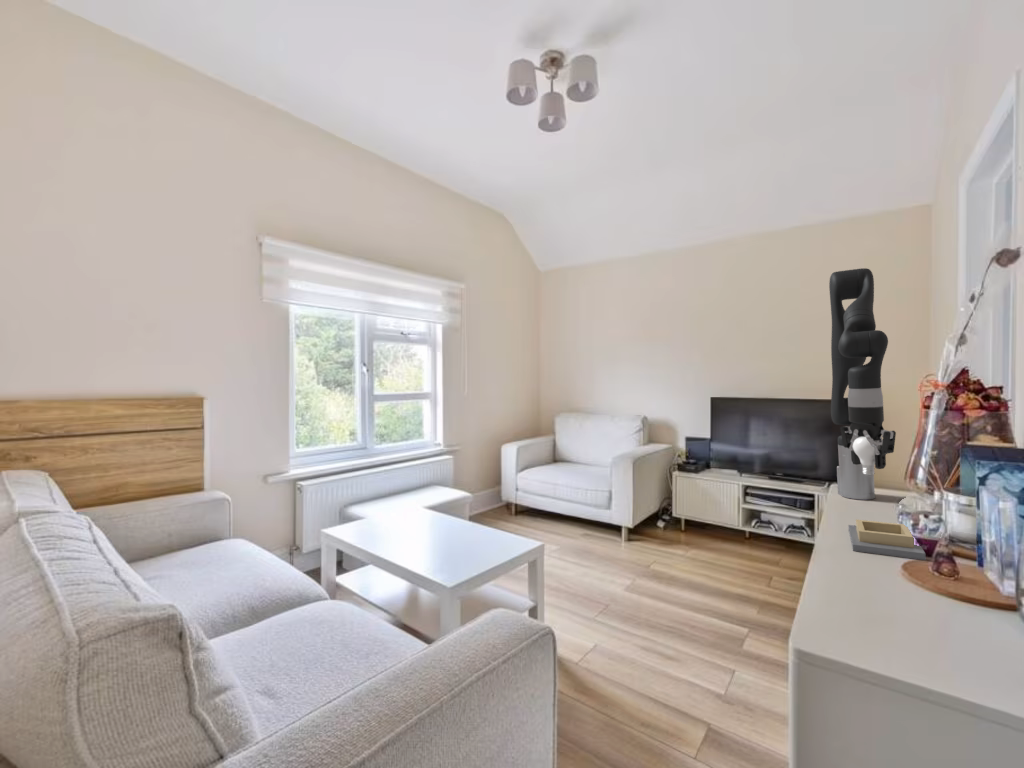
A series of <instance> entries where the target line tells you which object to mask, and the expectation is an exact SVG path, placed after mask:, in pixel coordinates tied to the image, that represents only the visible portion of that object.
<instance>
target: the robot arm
mask: <svg viewBox="0 0 1024 768" xmlns="http://www.w3.org/2000/svg"><path fill="white" fill-rule="evenodd" d="M874 280H875V279H874V274H873V272H872V270H871V269H870V268H866V267H865V268H857V269H856V268H855V269H854V268H853V269H849V270H848V269H847V270H839V271H834V272H832V273H831V274H830V277H829V281H828V282H829V300H830V314H831V337H830V338H831V340H830V343H831V345H830V346H831V347H830V348H831V350H830V351H831V352H830V353H831V355H830V356H831V370H832V371H831V372H832V374H831V375H832V380H831V381H832V383H831V384H832V385H831V386H832V387H831V398H830V399H831V401H830V415H831V421H832V422H833V424H834V425H838V426H839V425H840V428H839V429H840V434H841V435H839V436H837V449H838V452H837V453H838V454H837V455H838V465H837V466H836V478H837V480H836V481H837V494H838V495H840V496H842V497H843V498H847V499H852V500H862V501H863V500H867V501H868V500H873V499H875V495H876V493H875V491H876V490H875V476H874V475H875V474H873V475H871V476H867V475H865V474H863V473H862V471H863V470H862V468H863V467H862V464H861V462H860V459H859V457H858V456H857V455H856V453H855V452H854V450H853V442H854V441H855V439H857V438H858V437H861V436H864V437H866V438H867V440H868V441H869V443H870V444H871V446H873V447H874V452H875V454H876V455H875V465H874V469H877V470H882V469H885V467H886V466H887V461H886V458H887V457H886V455H888V454H893V453H894V452H895V442H896V435H897V432H896V431H895V430H888V429H884V427H883V422H885V416H884V415H885V414H884V395H883V391H882V375H881V374H882V365H883V361H884V358H885V354H886V353H887V348H888V344H889V338H888V336H887V334H886V333H885V332H883V331H882V330H881V329H880V330H876V329H877V327H876V326H877V325H876V320H875V315H874V301H875V299H874V298H875V283H874V282H875V281H874ZM846 300H853V302H851V303H850V305H848V307H847V308H846V309H845V308H844V306H843V301H846ZM867 358H870V360H869V362H867V363H865V362H866V360H867ZM847 389H848V394H847V397H845V394H846V390H847ZM878 440H879V443H875V442H874V441H878ZM878 446H881V450H879V448H878Z"/></svg>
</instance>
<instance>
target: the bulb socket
mask: <svg viewBox="0 0 1024 768" xmlns="http://www.w3.org/2000/svg"><path fill="white" fill-rule="evenodd" d="M904 524H905V523H895V522H885V521H875V520H866V519H865V520H864V519H855V525H852V524H848V525H847V528H848V533H849V534H848V535H849V537H850V543H851V547H852V551H853V552H859V553H865V554H866V553H867V554H875V555H883V556H891V557H898V558H899V557H900V558H907V559H913V560H914V559H915V560H921V561H927V560H926V556H927V555H926V552H925V550H924V549H923V547H922V546H917V545H914V538H913V536H912V534H911V532H910V529H909V527H908V526H907V527H906V526H905V525H904Z"/></svg>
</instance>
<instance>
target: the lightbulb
mask: <svg viewBox="0 0 1024 768" xmlns="http://www.w3.org/2000/svg"><path fill="white" fill-rule="evenodd" d="M874 442H875V443H879V440H878V441H874ZM878 448H879V450H881V446H878ZM853 450H854V452H855V453H856V455H857V456H858V457H859V459H860V462H861V464H862V467H863V468H862V470H863V471H862V473H863V474H865V475H867V476H871V475H873V474H874V475H875V474H876V472H875V455H876V454H875V452H874V447H873V446H871V444H870V443H869V441H868V440H867V438H866V437H864V436H861V437H858V438H857V439H855V441H854V442H853Z"/></svg>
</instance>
